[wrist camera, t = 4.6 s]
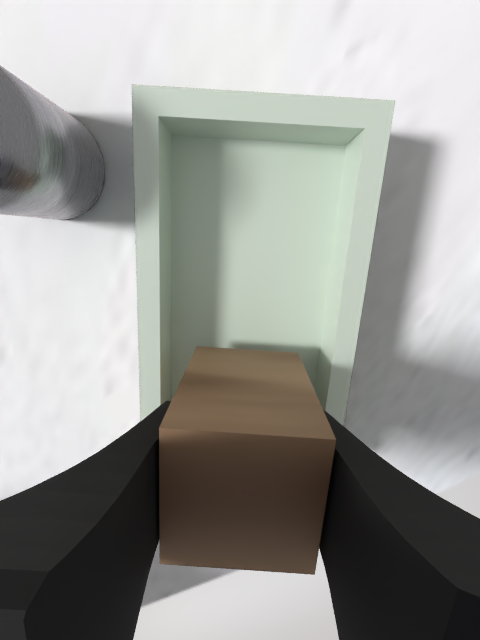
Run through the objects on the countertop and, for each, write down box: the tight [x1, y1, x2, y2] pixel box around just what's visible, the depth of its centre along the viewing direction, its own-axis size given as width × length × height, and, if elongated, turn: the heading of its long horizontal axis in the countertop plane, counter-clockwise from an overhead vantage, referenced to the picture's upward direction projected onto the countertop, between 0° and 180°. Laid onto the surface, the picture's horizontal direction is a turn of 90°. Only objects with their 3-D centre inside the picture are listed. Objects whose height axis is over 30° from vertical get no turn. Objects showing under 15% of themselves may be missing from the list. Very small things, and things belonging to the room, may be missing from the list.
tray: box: [132, 84, 395, 426], centre depth 13 cm, size 14×8×2 cm, turn 177°
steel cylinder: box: [0, 66, 104, 220], centre depth 10 cm, size 4×4×6 cm
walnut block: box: [159, 346, 336, 574], centre depth 10 cm, size 4×4×6 cm
